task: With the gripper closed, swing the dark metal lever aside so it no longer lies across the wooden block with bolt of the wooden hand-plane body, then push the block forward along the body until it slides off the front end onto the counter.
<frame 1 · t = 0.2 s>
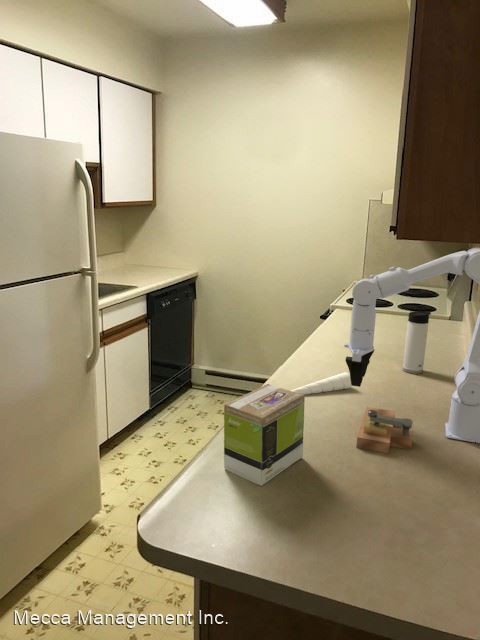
hand: (358, 380, 125), 10 cm above the table, tool pointing down, fingers open, 7 cm apart
lever: (389, 419, 114), point 5 cm above the table, hinge at 0.0°
tea box: (263, 464, 104), on the table
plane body: (376, 433, 119), on the table
wooden block with bolt: (376, 428, 116), point 2 cm above the table, touching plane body
unicorn horn: (317, 393, 144), on the table
travel mug: (412, 371, 164), on the table
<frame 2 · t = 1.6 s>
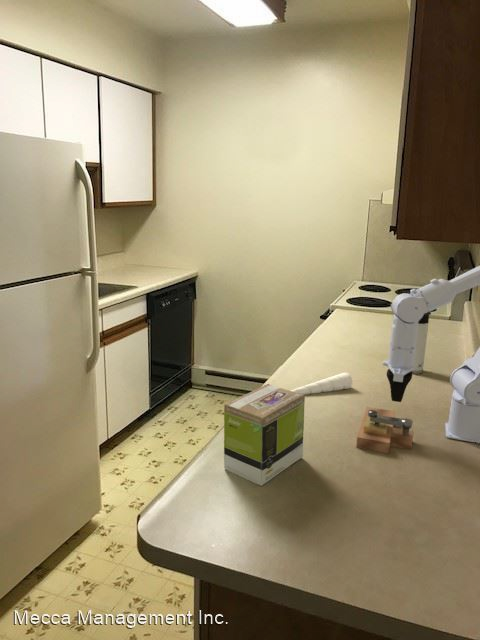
hand: (396, 400, 119), 8 cm above the table, tool pointing down, fingers closed
nothing on the table moved.
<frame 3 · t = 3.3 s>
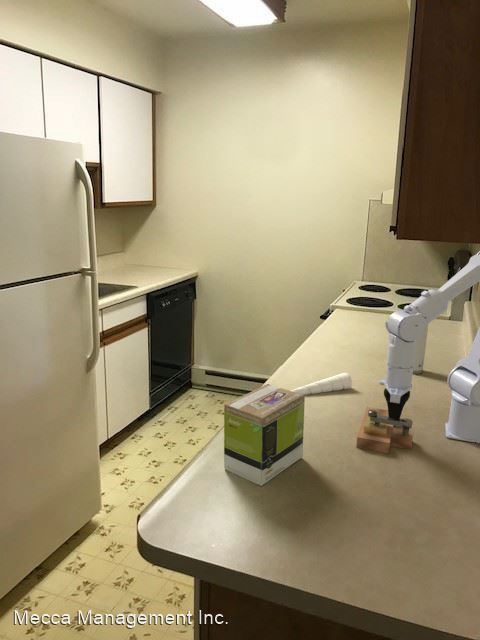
hand: (393, 420, 115), 5 cm above the table, tool pointing down, fingers closed, pressing on lever
lever: (389, 419, 114), point 5 cm above the table, hinge at 0.0°, touching gripper
everything else where it was.
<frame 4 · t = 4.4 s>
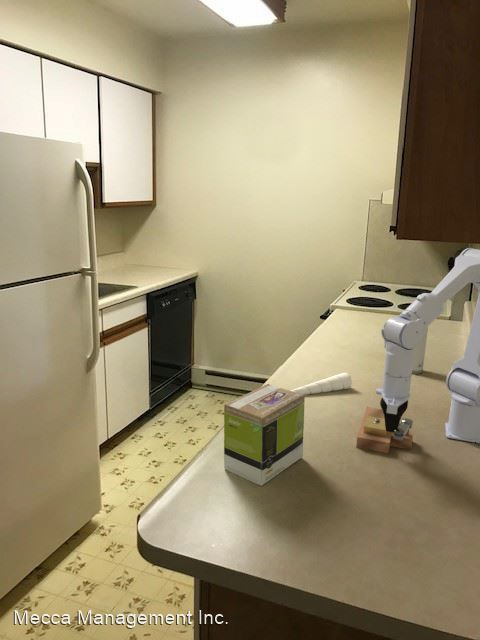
hand: (390, 431, 110), 5 cm above the table, tool pointing down, fingers closed, pressing on lever
lever: (402, 428, 110), point 5 cm above the table, hinge at 79.9°, touching gripper
everything else where it was.
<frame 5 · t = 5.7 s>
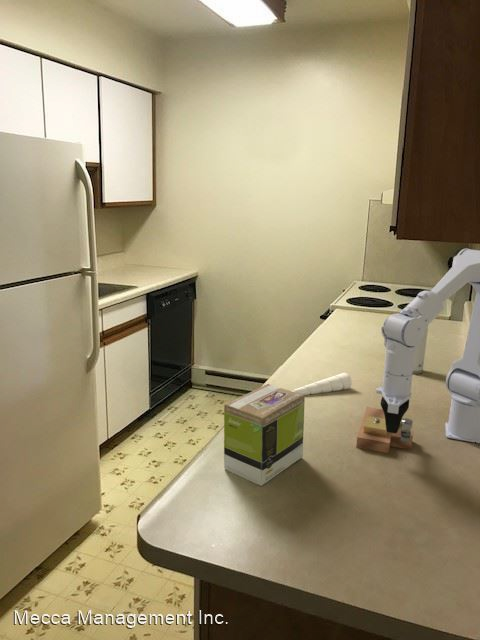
hand: (391, 431, 107), 6 cm above the table, tool pointing down, fingers closed
lever: (406, 428, 110), point 5 cm above the table, hinge at 90.7°
everything else where it was.
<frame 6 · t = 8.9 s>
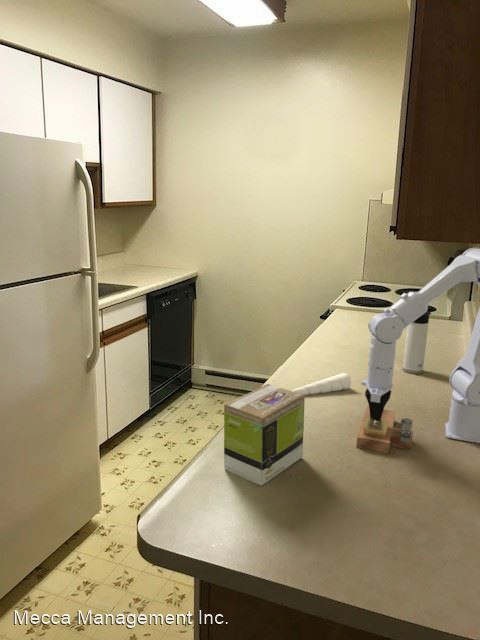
hand: (375, 419, 119), 3 cm above the table, tool pointing down, fingers closed
wooden block with bolt: (375, 430, 115), point 2 cm above the table, touching gripper, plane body
everything else where it was.
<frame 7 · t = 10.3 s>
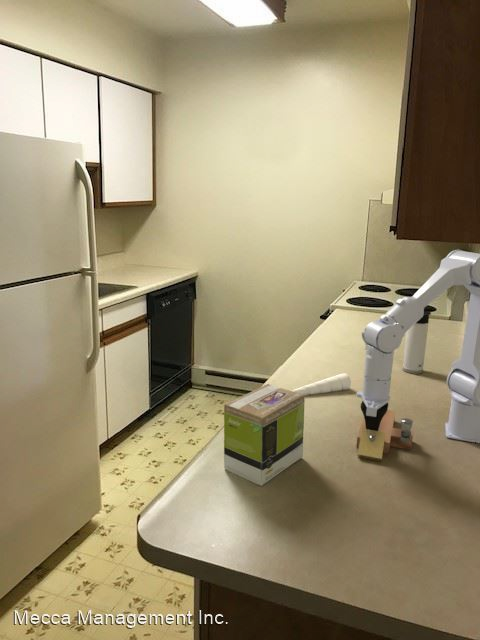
hand: (371, 433, 111), 3 cm above the table, tool pointing down, fingers closed
wooden block with bolt: (371, 445, 109), point 2 cm above the table, tilted 42°, touching gripper
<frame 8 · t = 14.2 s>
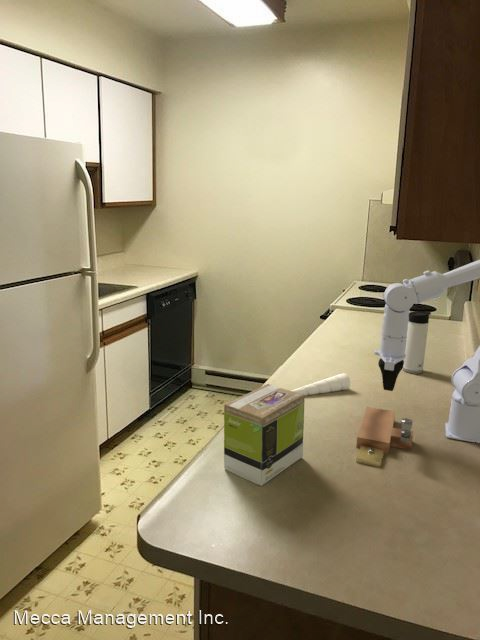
hand: (388, 389, 120), 10 cm above the table, tool pointing down, fingers closed
wooden block with bolt: (369, 459, 108), on the table
at the end: lever at +91° (first picture: +0°); wooden block with bolt inside the target area (5.8 cm from its centre), on the table; wooden block with bolt tilted 1° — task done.
